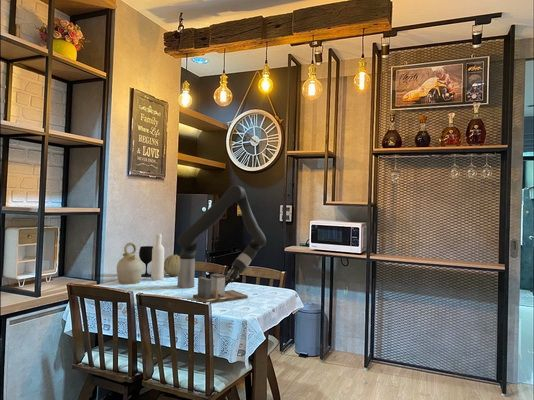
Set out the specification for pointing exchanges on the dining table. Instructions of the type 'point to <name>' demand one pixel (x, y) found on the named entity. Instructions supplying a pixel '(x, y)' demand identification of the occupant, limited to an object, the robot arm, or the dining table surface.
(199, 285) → the dark gray block
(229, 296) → the base
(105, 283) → the dining table surface
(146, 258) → the wine glass
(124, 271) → the jug
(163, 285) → the dining table surface
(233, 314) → the dining table surface
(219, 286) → the grey block
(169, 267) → the cantaloupe
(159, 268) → the bottle
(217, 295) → the peak marker
